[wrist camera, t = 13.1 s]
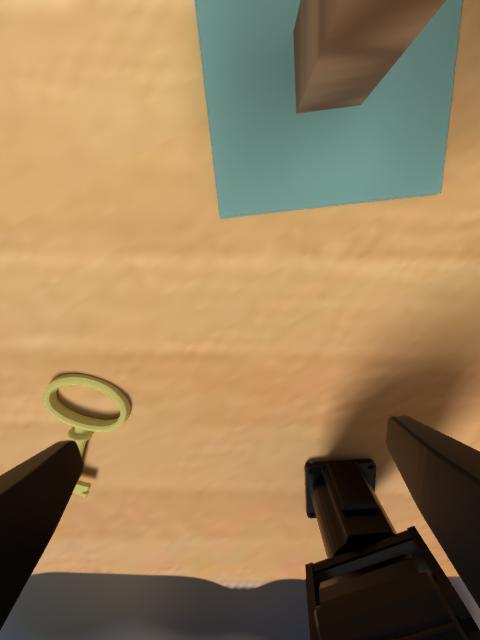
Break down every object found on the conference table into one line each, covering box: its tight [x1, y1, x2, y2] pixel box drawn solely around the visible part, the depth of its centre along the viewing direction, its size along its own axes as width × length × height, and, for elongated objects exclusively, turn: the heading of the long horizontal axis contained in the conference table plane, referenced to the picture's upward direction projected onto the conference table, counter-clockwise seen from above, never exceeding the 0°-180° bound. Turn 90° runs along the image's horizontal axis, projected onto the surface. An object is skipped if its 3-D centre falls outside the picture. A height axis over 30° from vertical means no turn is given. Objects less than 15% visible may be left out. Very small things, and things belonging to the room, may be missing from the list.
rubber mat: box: [195, 0, 463, 219], centre depth 15 cm, size 15×15×1 cm
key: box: [43, 374, 131, 497], centre depth 22 cm, size 7×12×2 cm, turn 179°
